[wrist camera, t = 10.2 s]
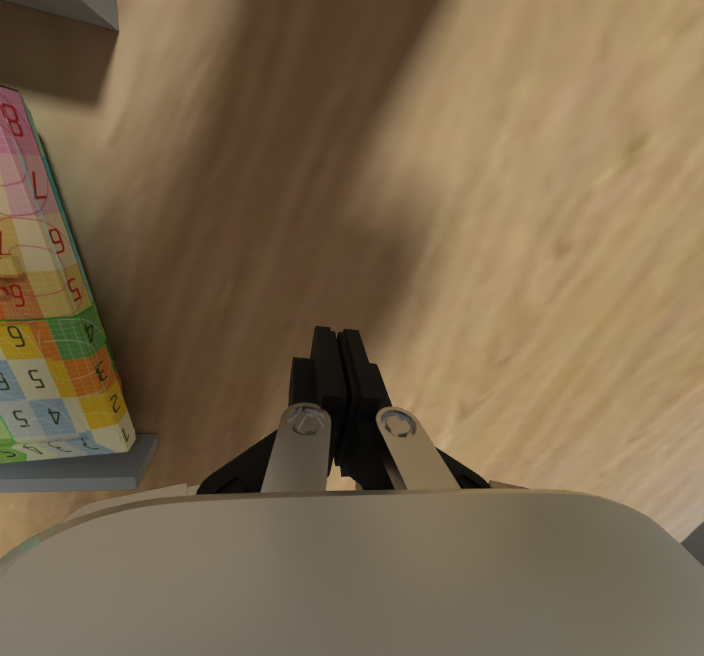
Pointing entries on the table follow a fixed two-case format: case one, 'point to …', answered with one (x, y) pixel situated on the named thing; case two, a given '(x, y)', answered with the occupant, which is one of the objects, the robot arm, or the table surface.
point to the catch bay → (129, 467)
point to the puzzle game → (48, 317)
